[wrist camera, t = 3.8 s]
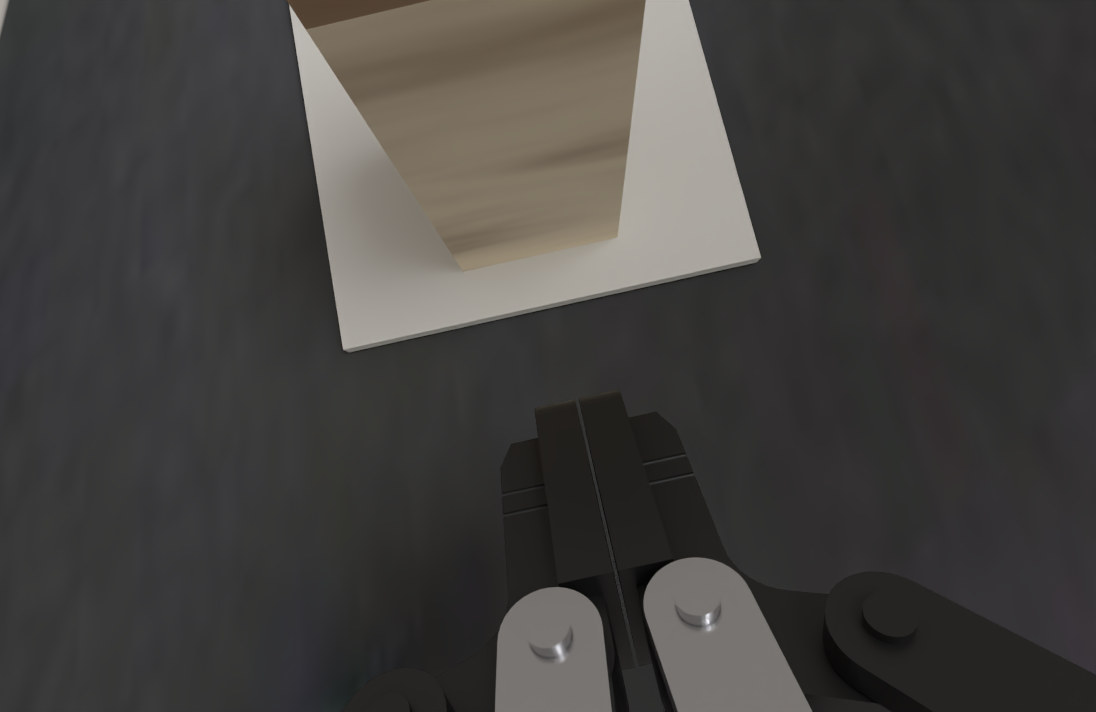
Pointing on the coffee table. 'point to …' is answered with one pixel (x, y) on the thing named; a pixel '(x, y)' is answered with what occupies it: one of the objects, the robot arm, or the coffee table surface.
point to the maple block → (494, 111)
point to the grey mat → (548, 279)
